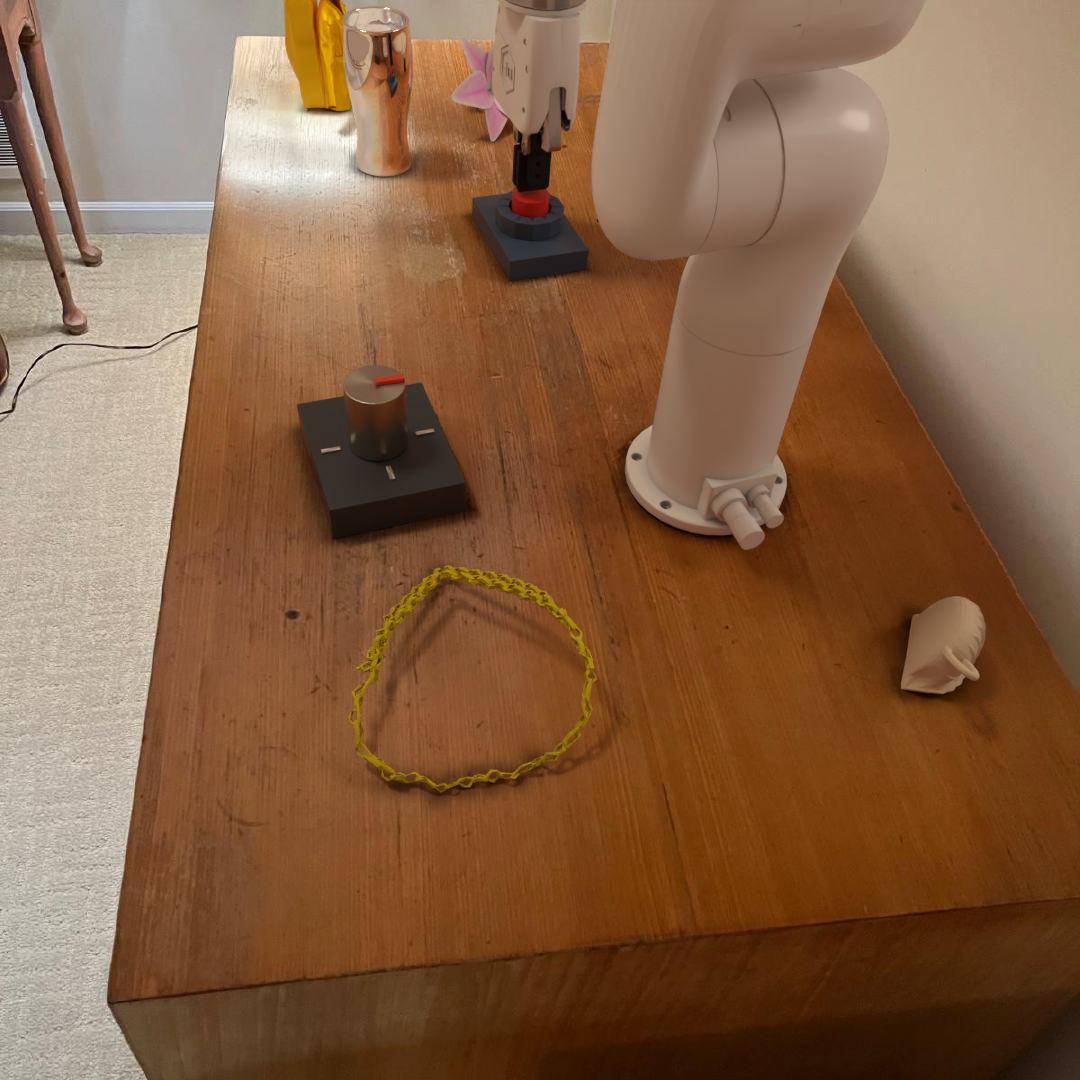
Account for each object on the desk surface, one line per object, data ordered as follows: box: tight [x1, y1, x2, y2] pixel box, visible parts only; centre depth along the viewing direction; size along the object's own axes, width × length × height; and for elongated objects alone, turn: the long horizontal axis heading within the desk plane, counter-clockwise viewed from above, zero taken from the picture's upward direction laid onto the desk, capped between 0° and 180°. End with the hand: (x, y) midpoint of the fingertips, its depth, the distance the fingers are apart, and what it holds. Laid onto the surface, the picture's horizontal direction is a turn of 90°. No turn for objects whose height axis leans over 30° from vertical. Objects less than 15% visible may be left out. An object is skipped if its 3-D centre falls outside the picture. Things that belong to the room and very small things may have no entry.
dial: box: [342, 364, 408, 461], centre depth 74 cm, size 4×4×6 cm
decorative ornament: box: [900, 595, 987, 695], centre depth 67 cm, size 4×8×5 cm, turn 158°
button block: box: [471, 188, 590, 282], centre depth 101 cm, size 12×8×4 cm, turn 20°
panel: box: [296, 382, 467, 539], centre depth 78 cm, size 12×10×3 cm
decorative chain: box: [347, 564, 598, 794], centre depth 64 cm, size 16×15×5 cm
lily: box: [450, 39, 509, 143], centre depth 117 cm, size 12×12×10 cm
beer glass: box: [342, 5, 414, 178], centre depth 106 cm, size 7×7×15 cm
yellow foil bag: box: [283, 0, 352, 112], centre depth 112 cm, size 18×8×22 cm, turn 3°
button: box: [511, 187, 550, 218], centre depth 99 cm, size 4×4×2 cm
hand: (530, 186), depth 98 cm, fingers closed
